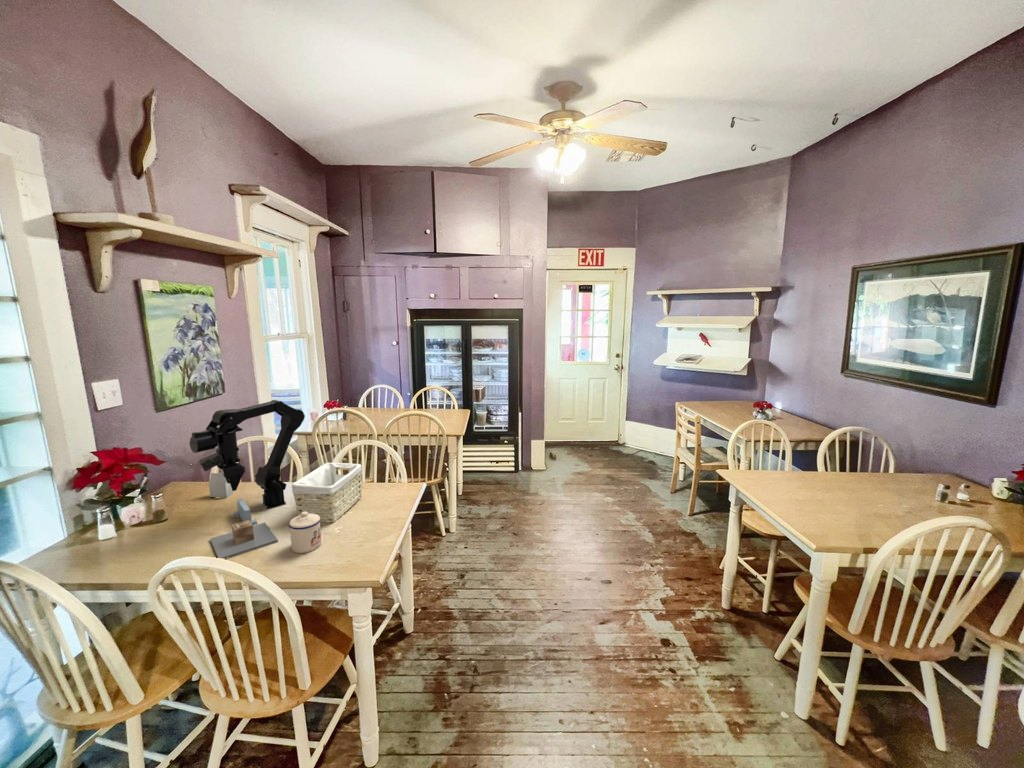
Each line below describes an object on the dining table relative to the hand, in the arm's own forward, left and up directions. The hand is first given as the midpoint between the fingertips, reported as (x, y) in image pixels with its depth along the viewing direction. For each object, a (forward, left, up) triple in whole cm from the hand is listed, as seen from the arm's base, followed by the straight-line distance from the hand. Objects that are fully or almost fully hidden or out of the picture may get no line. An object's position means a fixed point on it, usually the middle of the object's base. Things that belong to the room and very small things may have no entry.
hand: (231, 486), depth 149 cm
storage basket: (-29, +15, -13) cm, 35 cm away
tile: (+1, +20, -12) cm, 24 cm away
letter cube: (+1, +20, -12) cm, 23 cm away
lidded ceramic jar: (-14, +36, -13) cm, 41 cm away
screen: (-3, +3, -12) cm, 13 cm away
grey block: (0, -27, -13) cm, 30 cm away
